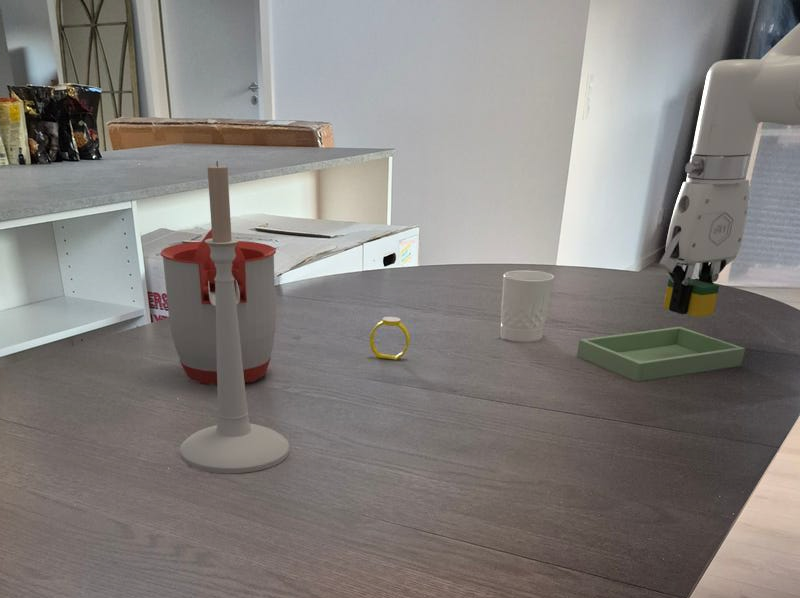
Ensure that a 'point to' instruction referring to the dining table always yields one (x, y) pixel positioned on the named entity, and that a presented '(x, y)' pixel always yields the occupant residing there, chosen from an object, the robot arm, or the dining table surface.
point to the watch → (390, 322)
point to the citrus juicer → (197, 306)
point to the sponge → (697, 298)
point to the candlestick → (229, 365)
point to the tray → (660, 353)
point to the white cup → (525, 304)
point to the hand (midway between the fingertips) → (687, 309)
